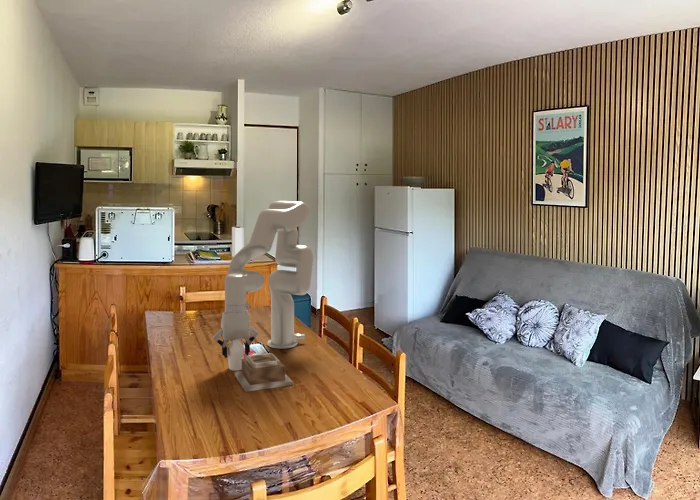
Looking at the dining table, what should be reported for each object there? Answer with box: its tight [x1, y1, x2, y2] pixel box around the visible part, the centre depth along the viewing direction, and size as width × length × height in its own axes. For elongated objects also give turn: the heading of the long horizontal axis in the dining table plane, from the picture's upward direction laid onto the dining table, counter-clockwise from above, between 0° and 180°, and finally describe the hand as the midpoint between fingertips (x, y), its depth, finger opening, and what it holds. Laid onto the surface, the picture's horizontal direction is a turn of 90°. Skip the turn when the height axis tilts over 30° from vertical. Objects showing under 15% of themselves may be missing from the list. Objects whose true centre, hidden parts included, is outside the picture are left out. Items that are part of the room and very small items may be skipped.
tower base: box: [234, 352, 293, 393], centre depth 182 cm, size 16×16×8 cm
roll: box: [227, 339, 245, 372], centre depth 193 cm, size 6×12×6 cm
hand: (236, 355), depth 193 cm, fingers open, 7 cm apart
